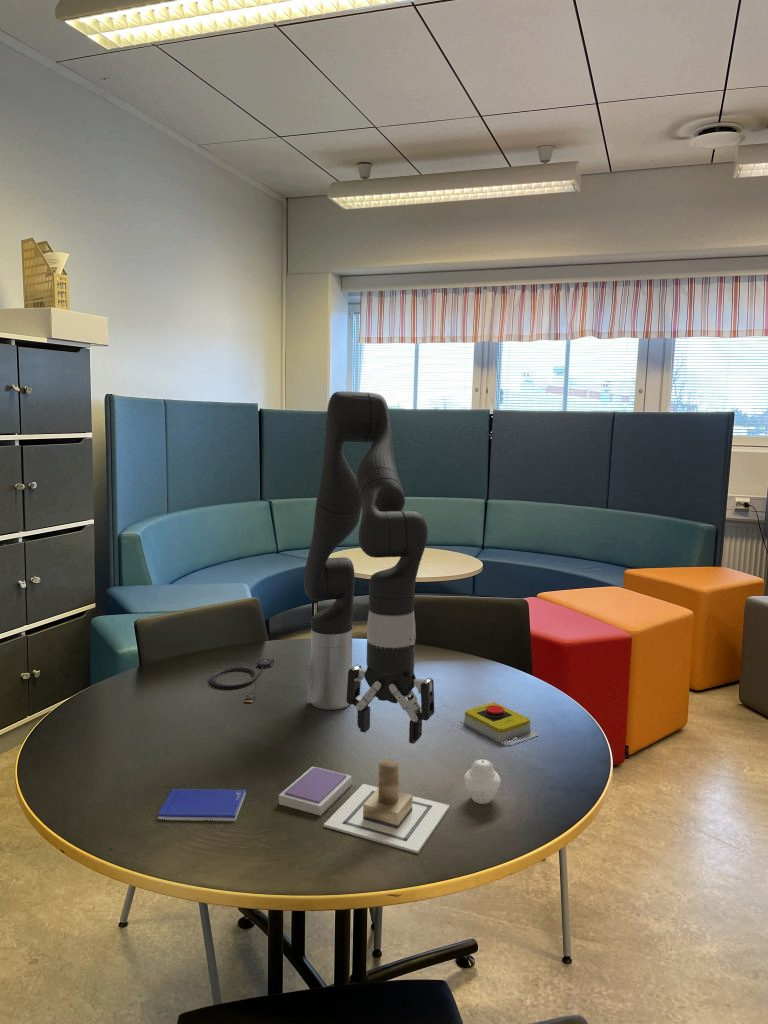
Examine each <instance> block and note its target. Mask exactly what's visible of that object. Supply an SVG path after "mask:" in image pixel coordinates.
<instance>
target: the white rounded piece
mask: <svg viewBox="0 0 768 1024" xmlns="http://www.w3.org/2000/svg"><path fill="white" fill-rule="evenodd" d="M463 777H464V779H463V781H464V783H465V787H466V790H467V791H468V794H469V796H470V797H471V800H472V801H473V802H475V803H477V804H481V805H486V804H489V803H491V802H492V800H493V799H494V797H495V795H496V794H497V792H498V790H499V787H500V786H501V783H502V782H501V777H500V775H499V774H498V772H497V771H495V769H494V766H493V764H492V763H491V761H489V760H487V759H477V760H475V761H474V762H473V763H472V765H471V768H470V769H468V770H467V771H466V772H465V774H464V776H463Z"/></svg>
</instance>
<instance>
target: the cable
mask: <svg viewBox="0 0 768 1024" xmlns="http://www.w3.org/2000/svg"><path fill="white" fill-rule="evenodd" d="M274 663H275V658H263V657H262V658H260V657H259V658H258V661H257V664H256V668H258V667H259V669H260V670H259V671H258V673H257V672H256V671H254V670H253V669H251V668H248V667H243V666H237V667H236V666H234V667H233V666H232V667H228V668H223V669H220V670H218V671H217V672H215V673H213V674H212V675H210V677H209V679H208V680H209V684H211V685H212V686H213V687H215V686H216V688H218V687H219V688H218V689H222V688H225V690H235V689H234V688H236V689H241V688H245V687H247V686H250V685H251V684H254V682H255V681H257V679H258V676H259V675H260V674H261V673H262V671H263V670H264V669H268V668H272V667H273V664H274ZM231 672H244V673H248V674H251V675H252V678H250V679H249V680H248V681H244V682H242V683H237V684H222V683H218V682H217V681H216V678H218V677H219V676H220V675H223V673H224V674H226V673H231ZM255 683H256V682H255ZM256 688H257V684H255V686H254V688H253V690H252V692H251V693H249V694H248V695H246V697H245V699H244V703H243V704H253V702H254V700H255V699H256V695H255V691H256Z"/></svg>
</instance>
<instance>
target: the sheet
mask: <svg viewBox="0 0 768 1024" xmlns="http://www.w3.org/2000/svg"><path fill="white" fill-rule="evenodd" d="M378 788H379V786H378V787H377V786H373V785H370V784H367V783H362V784H361V785H360V786H359V788H358V789H357V790H356V791H354V792H353V794H352V795H351V796H349V798H348V799H347V800H346V801H345V802H344V803H343V804H342V805H341V806H340V807H339V808H338V809H337V810H336V811H335V812H334V813H333V814H332V815H331V816H330V818H328V819H327V820H326V822H324V823H323V828H327V829H330V830H335V831H337V832H342V833H345V834H347V835H352V836H355V837H358V838H362V839H366V840H368V841H369V840H370V841H372V842H376V843H380V844H383V845H386V846H390V847H392V848H397V849H400V850H403V851H407V852H410V853H411V852H412V853H415V854H419V853H420V851H421V850H422V848H423V847H424V846H425V844H426V843H427V841H428V840H429V838H430V837H431V835H433V832H434V831H435V829H436V828H437V827H438V825H439V824H440V822H441V821H442V819H444V818H443V817H444V816H445V815H446V813H447V812H448V811H449V809H450V807H451V806H450V805H449V804H446V803H442V802H438V801H434V800H430V799H426V798H422V797H418V796H413V801H412V811H411V812H410V814H409V815H408V816H407V818H406V819H405V820H404V821H403V823H402V824H401V825H400V827H399V828H398V829H396V828H393V827H389V826H385V825H382V824H378V823H374V822H371V821H367V820H363V804H364V803H365V802H366V801H367V800H368V799H369V798H370V796H371V795H372V794H373V793H374V792H375V791H376V790H377V789H378Z"/></svg>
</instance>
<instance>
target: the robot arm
mask: <svg viewBox="0 0 768 1024" xmlns="http://www.w3.org/2000/svg"><path fill="white" fill-rule="evenodd" d="M389 410H390V409H389V406H388V404H387V401H386V399H385V398H384V396H382V395H381V394H379V393H376V392H363V391H362V392H361V391H346V390H344V391H342V390H341V391H335V392H333V394H331V397H330V398H329V401H328V404H327V410H326V419H325V420H326V421H325V433H324V446H323V447H324V449H323V460H322V467H321V472H320V473H321V474H320V478H319V479H320V480H319V484H318V489H317V496H316V502H315V509H314V510H315V511H314V520H313V530H312V537H311V543H310V546H309V551H308V555H307V559H306V563H305V568H304V575H303V588H304V593H305V595H306V596H307V598H309V599H310V600H312V601H313V600H314V601H327V600H335V601H334V602H333V603H332V604H331V605H330V606H328V607H327V608H324V609H323V610H321V611H318V612H316V613H314V615H313V616H312V617H311V620H310V660H309V661H307V665H306V666H307V671H306V672H307V673H306V675H307V679H306V680H307V684H306V685H307V686H306V687H307V688H306V689H307V690H306V691H307V692H306V693H307V696H306V698H307V700H306V703H307V704H310V703H311V704H310V705H312V706H313V707H315V708H316V709H317V708H318V709H320V710H331V711H332V710H341V709H344V708H347V707H349V706H350V705H353V706H354V707H355V708H356V709H357V723H356V724H357V728H359V731H360V732H361V733H367V731H369V730H370V727H371V706H369V704H370V703H372V701H373V700H374V698H375V697H376V698H377V700H378V701H382V702H385V701H386V702H387V701H388V702H390V703H392V704H399V705H400V708H401V709H402V710H403V711H405V712H406V714H407V715H408V717H409V718H410V720H409V724H408V725H409V729H408V731H409V733H408V735H409V736H408V737H409V738H408V742H409V744H413V745H414V744H415V743H416V742H417V741H419V739H420V738H422V737H421V736H422V735H423V734H422V733H423V721H428V720H429V719H430V718H431V717H432V716H433V715H434V714H435V689H434V687H435V686H434V685H435V683H434V679H433V678H432V677H427V678H426V679H422V678H416V675H415V659H416V658H415V649H416V638H417V634H416V619H415V591H416V590H415V586H416V582H417V581H416V580H417V577H418V573H419V568H420V563H421V561H422V557H423V555H424V551H425V548H426V545H427V543H428V542H427V541H428V534H429V533H428V531H429V530H428V525H427V523H426V520H425V518H424V516H422V514H421V513H420V512H418V511H414V510H403V509H404V507H405V505H406V504H405V503H406V498H405V497H406V496H405V493H404V489H403V486H402V483H401V478H400V477H399V476H400V475H399V474H398V471H397V465H396V460H395V452H394V451H395V450H394V442H393V432H392V431H393V430H392V424H391V418H390V412H389ZM346 442H347V443H368V444H369V443H372V445H371V447H370V449H369V450H368V452H366V454H365V455H364V456H363V458H362V459H361V461H360V463H359V465H358V468H357V471H356V475H355V473H354V472H353V470H352V468H351V467H350V464H349V463H348V461H347V458H346V457H345V456H346V455H345V454H344V451H343V445H344V443H346ZM360 516H361V519H360ZM359 521H360V523H359ZM358 524H359V526H358ZM357 526H358V527H359V528H358V535H357V536H358V545H359V547H360V549H361V550H362V552H363V553H364V554H366V555H367V556H368V557H371V558H375V559H376V558H377V559H378V558H379V559H380V558H399V560H398V561H397V563H396V564H395V565H394V566H392V567H390V568H388V569H383V570H380V571H377V572H375V573H373V574H372V575H371V576H370V579H369V585H368V616H367V622H366V623H367V624H366V669H365V668H363V667H362V666H361V664H355V665H354V666H353V619H354V618H353V617H354V596H355V595H354V592H355V582H356V581H355V579H356V578H355V577H356V576H355V568H354V564H353V561H352V560H351V559H350V558H349V557H330V556H331V554H333V551H334V550H336V548H338V547H339V546H340V544H342V543H343V542H344V541H345V540H346V539H347V538H348V537H349V536H350V535H351V534H352V533H353V532H354V530H355V528H356V527H357ZM363 679H365V681H366V684H367V685H368V687H369V689H368V690H367V691H366V692H365V693H364V695H363V696H361V683H362V681H363ZM414 688H416V689H417V693H418V694H419V695H420V704H419V701H418V697H417V696H416V694H415V692H414V691H413V689H414Z"/></svg>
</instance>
